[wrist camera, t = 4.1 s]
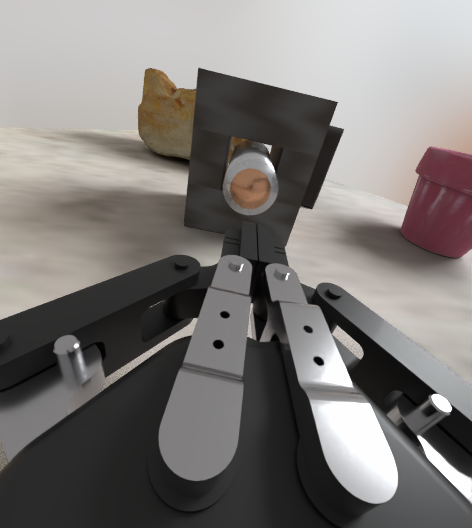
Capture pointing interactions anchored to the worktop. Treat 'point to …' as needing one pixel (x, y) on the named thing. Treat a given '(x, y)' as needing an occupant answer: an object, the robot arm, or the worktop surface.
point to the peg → (250, 179)
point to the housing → (259, 130)
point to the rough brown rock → (168, 116)
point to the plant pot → (441, 204)
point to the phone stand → (322, 166)
